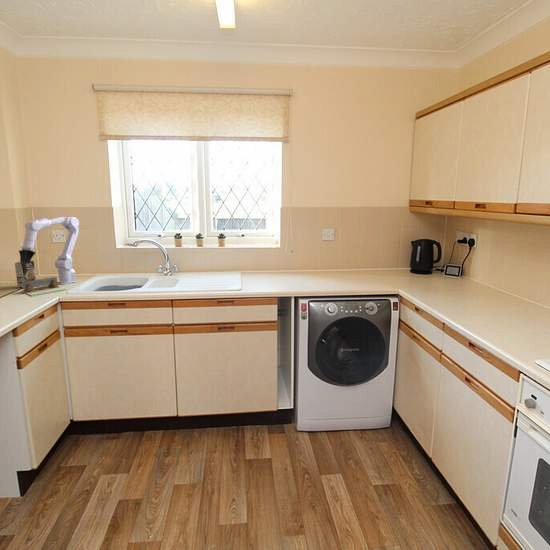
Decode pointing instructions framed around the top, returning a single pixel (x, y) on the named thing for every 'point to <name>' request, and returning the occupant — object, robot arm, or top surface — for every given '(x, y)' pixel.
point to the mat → (46, 291)
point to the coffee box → (25, 272)
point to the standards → (51, 286)
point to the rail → (39, 282)
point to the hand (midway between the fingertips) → (24, 262)
